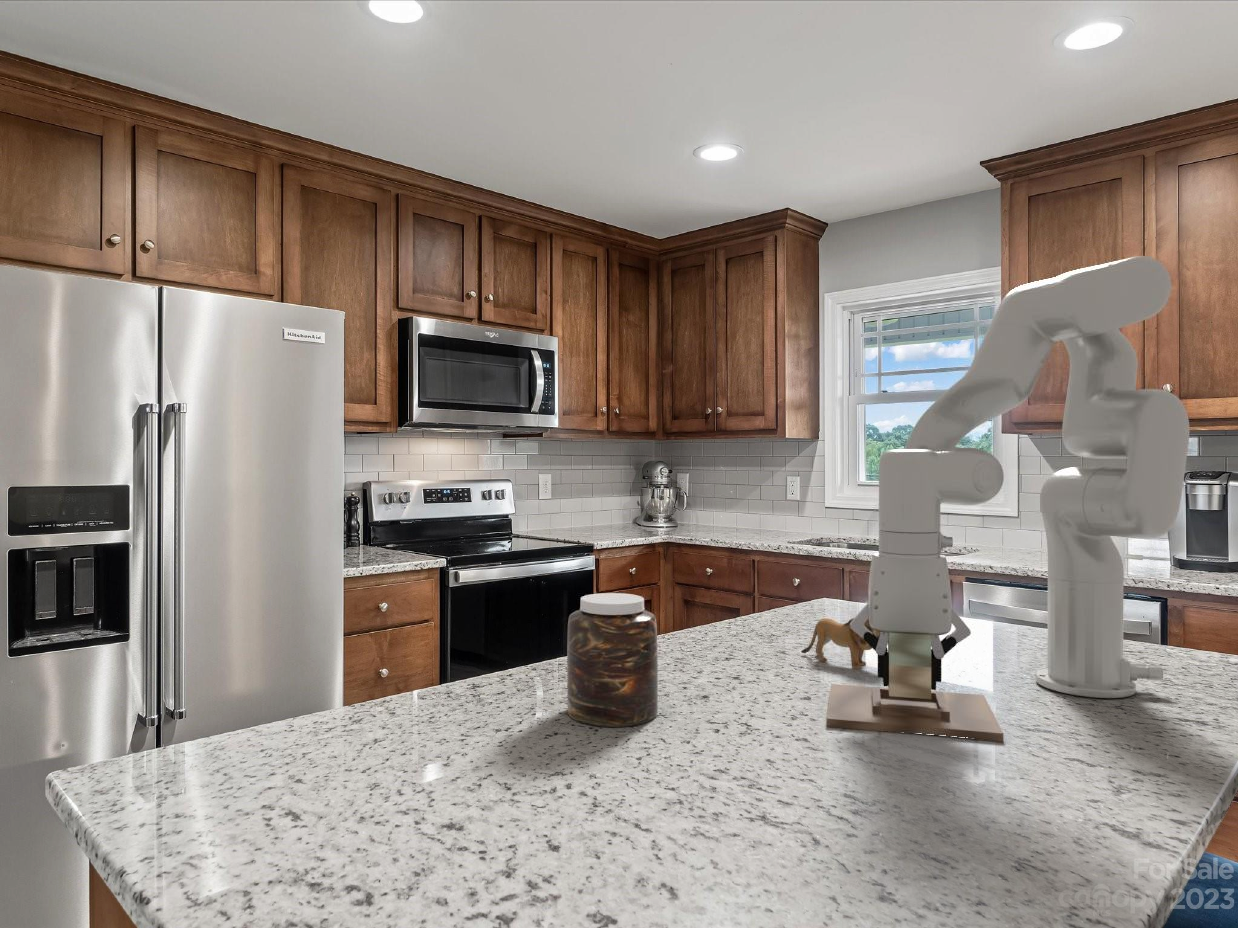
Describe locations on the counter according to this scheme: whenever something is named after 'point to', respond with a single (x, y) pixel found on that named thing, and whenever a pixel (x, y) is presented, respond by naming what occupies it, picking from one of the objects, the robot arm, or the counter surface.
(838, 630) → the lion figurine
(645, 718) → the jar
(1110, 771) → the counter surface
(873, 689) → the walnut socket board
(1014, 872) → the counter surface
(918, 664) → the two-tone block
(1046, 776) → the counter surface
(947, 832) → the counter surface
